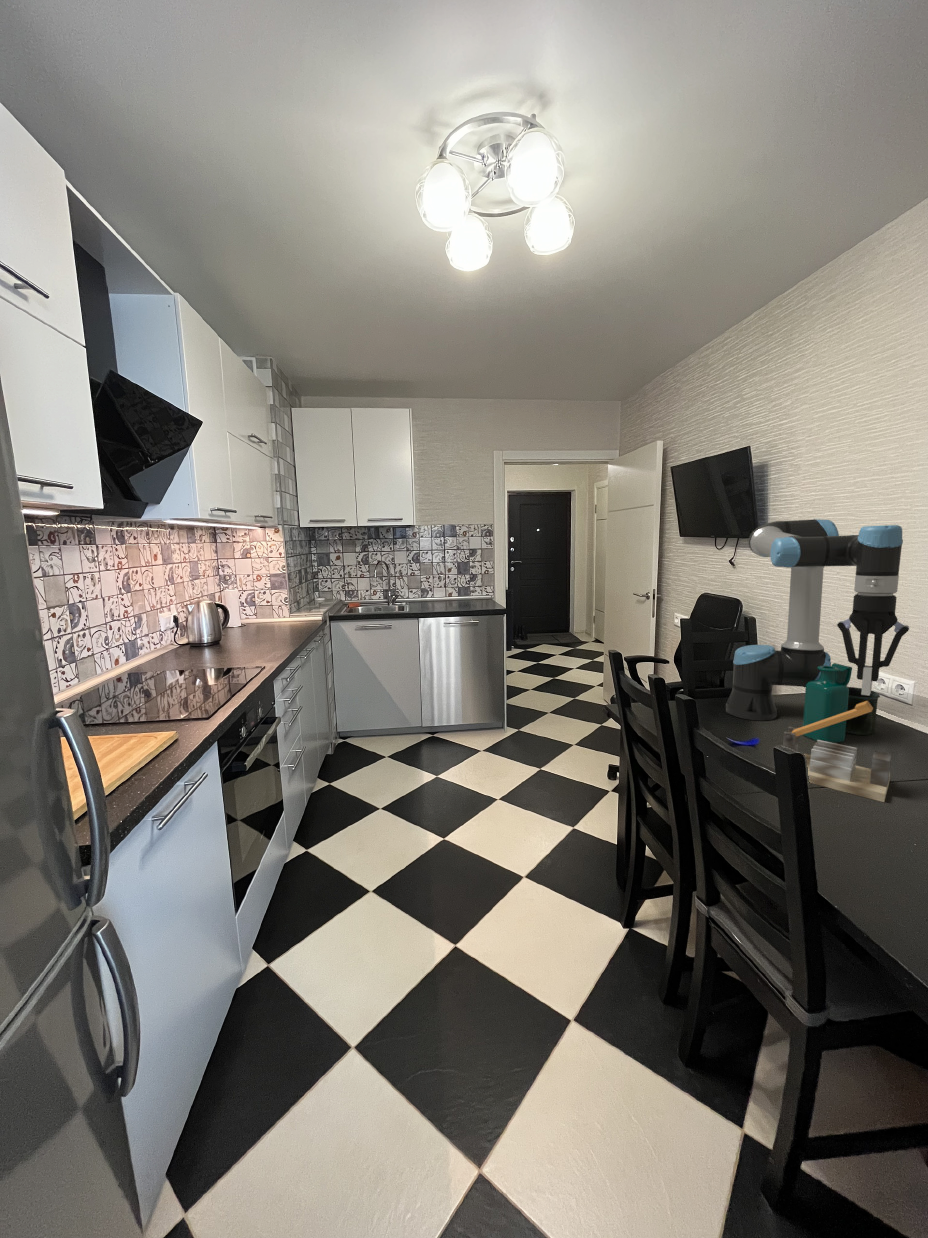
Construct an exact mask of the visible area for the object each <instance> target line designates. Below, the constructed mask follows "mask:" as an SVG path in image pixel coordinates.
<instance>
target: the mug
mask: <svg viewBox="0 0 928 1238" xmlns="http://www.w3.org/2000/svg"><path fill="white" fill-rule="evenodd" d="M847 687H848V689H849V699H848V710H847V711H850V710H853V709H855V706H856V705H857V704H859V703H862V702H865V701H868V702H869V703H870V704H871V706H872V707H873V710H872V712H869V713H866V714H863V715H860V716H857V717H854V718H851V719H848V720H847V721H846V732H845V733H847V734H852V735H857V736H859V735H860V736H870V735H872V734H874V733H875V728H876V720H877V707H878V699H880V698H881V695H880V694H879V693H878V692H876V691H874V690H871V694H870V696H868V695H861V692H862V687H854V686H853V687H852V686H847Z"/></svg>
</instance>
